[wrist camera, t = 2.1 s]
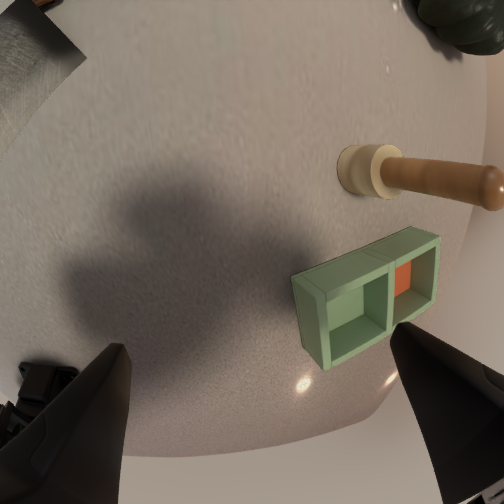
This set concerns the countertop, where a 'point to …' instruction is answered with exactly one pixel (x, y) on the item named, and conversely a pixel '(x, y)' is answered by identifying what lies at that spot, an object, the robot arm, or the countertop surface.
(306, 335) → the green divided tray
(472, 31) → the squash
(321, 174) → the countertop surface
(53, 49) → the meat cleaver
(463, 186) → the dish brush
